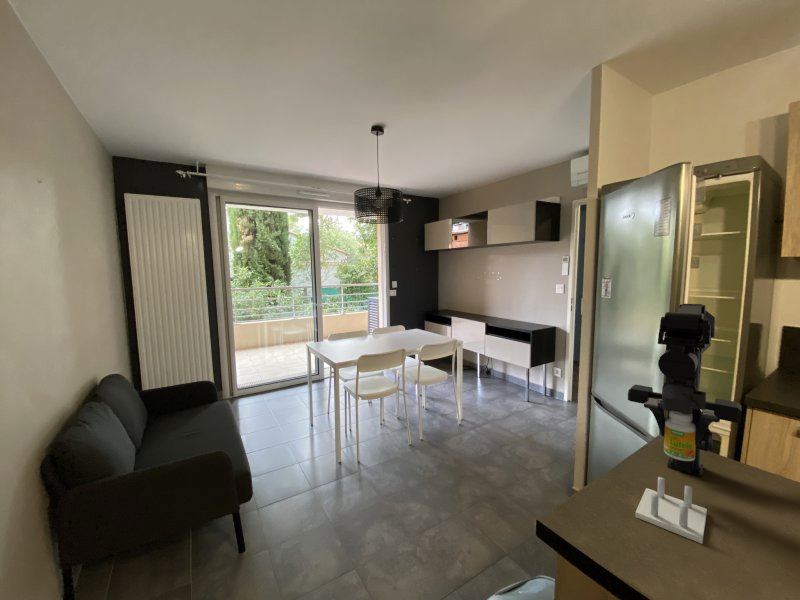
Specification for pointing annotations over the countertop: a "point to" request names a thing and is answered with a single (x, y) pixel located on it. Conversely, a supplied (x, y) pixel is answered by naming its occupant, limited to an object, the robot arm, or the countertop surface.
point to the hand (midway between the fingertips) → (679, 439)
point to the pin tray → (673, 512)
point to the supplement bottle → (680, 436)
